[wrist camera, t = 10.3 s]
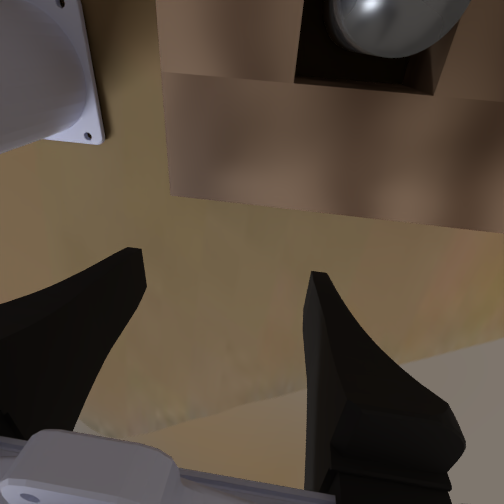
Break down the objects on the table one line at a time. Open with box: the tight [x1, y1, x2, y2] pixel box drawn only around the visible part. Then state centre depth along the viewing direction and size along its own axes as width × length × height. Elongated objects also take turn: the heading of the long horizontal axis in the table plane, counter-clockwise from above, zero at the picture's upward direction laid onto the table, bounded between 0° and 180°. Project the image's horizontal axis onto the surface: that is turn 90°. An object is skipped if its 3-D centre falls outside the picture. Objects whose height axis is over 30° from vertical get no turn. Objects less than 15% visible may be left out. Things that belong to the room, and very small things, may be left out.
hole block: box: [155, 0, 504, 233], centre depth 14 cm, size 18×18×5 cm
